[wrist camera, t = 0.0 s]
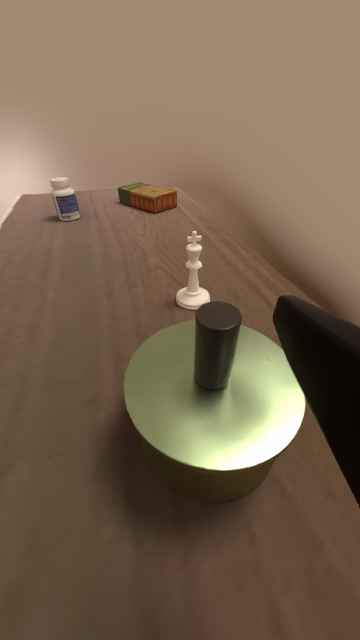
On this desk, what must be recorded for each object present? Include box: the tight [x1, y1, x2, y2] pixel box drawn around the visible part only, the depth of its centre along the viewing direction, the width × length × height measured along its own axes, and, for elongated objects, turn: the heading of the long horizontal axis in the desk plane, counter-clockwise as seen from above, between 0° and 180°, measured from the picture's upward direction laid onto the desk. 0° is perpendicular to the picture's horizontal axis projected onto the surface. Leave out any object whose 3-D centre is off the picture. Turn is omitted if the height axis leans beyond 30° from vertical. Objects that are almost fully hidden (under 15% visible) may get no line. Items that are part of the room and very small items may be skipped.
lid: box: [124, 301, 306, 475], centre depth 17 cm, size 12×12×7 cm
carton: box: [118, 183, 177, 213], centre depth 72 cm, size 8×16×4 cm, turn 46°
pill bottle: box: [50, 177, 80, 221], centre depth 62 cm, size 5×5×9 cm
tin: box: [137, 432, 275, 503], centre depth 21 cm, size 12×12×6 cm
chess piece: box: [176, 231, 210, 310], centre depth 34 cm, size 5×5×10 cm
